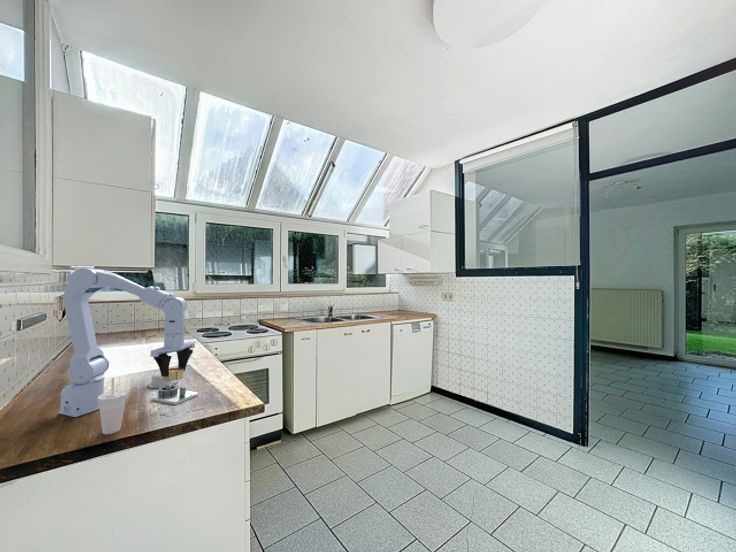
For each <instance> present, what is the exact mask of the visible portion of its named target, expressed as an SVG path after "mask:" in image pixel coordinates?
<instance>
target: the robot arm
mask: <svg viewBox="0 0 736 552" xmlns="http://www.w3.org/2000/svg"><path fill="white" fill-rule="evenodd" d="M66 279H67V285H66V287H65V290H64V292H63V295H62V298H63V305H64V309H65V312H66V313H65V314H66V318H67V322H68V328H69V332H70V337H71V344H72V347H73V351H74V353H73V354H72V356H71V357H70V360H69V369H68V371H67V376H68V378H69V380H70V381H71V382H72V383H70V384H68V385H66V386H63V388H62V390H61V392H60V404H59V406H60V407H59V409H60V411H58V414H60V415H64V416H67V417H73V418H77V417H80V416H83V415H85V414H89V413H92V412H94V411H97V410H100V409H99V403H98V402H97V398H98V397H99V396H100V395H102V394H105V373H106V372H107V370H108V369H109V367H110V361H109V359H108V358H106V356H105V354H104V350H102V349H101V348H100V347H98V342H97V339H96V338H97V337H96V333H95V328H94V323H93V319H92V314H91V309H90V304H89V299H90V298H91V297H92V296H93V295H94V294H96V292H99V291H100V290H102V289H104V288H106V287H111V288H116V289H118V290H121V291H123V292H125V293H126V292H127V293H129V294H131V295H134V296H137V297H139V300H140V302H141V303H144V304H146V305H149V306H151V307H153V308H155V309H158V310H160V311H161V310H162V312H163V313H164V331H163V333H164V334H163V337H164V339H163V346H161V347H159V348H156V349H151V350H150V357H152V358H153V359H154V361H155V363H156V364H157V365H158V366H157V367H158V368H159V372H161V376H163V377H167V376H168V374H169V368H170V363H171V360H172V357H173V356H172V355H169V354H172V353H175V352H176V356H177V367H183V368H184V372H186V368H187V365H188V363H189V360H190V357H191V356H192V355H193V353H194V348H196V347H195V345H196V343H195V342H194V341H189V342H185V327H186V326H185V323H186V322H185V321H186V319H185V316H186V315H185V314H186V313H185V312H186V310H187V307H188V302H187V301H186V299H185V298H183V297H182V296H175V294H174V293H172V292H171V293H168V292H166V291H164V290H161V288H160V287H159V286H148V287H144V286H142V285H140V284H138V283H136V282H133V281H132V280H130V279H127V278H125V277H123V276H121V275H119V274H116V273H114V272H111V271H108V270H105V269H102V268H101V269H100V268H98V269H93V268H86V267H85V268H84V267H83V268H82V267H81V268H77V269H76V270H74V271H73V272H72V273H70V275H68V276H67V278H66Z"/></svg>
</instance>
